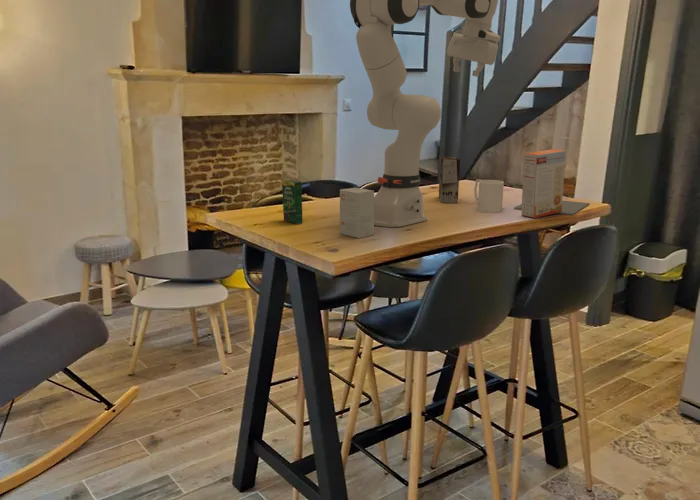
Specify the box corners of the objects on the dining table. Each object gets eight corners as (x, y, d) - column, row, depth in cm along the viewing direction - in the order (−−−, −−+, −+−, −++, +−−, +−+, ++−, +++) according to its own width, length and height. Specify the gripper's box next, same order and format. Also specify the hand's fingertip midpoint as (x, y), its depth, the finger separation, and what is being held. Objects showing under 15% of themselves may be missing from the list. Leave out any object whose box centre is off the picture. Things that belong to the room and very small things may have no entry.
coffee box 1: (282, 220, 197) (281, 179, 194) (290, 219, 199) (289, 178, 195) (295, 224, 191) (294, 182, 188) (303, 223, 192) (302, 181, 189)
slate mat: (572, 215, 206) (572, 214, 205) (513, 209, 216) (514, 207, 216) (589, 204, 225) (589, 203, 225) (534, 199, 236) (535, 197, 235)
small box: (374, 235, 178) (374, 190, 174) (358, 238, 174) (358, 192, 170) (355, 230, 184) (355, 187, 180) (339, 233, 179) (339, 189, 176)
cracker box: (547, 209, 212) (552, 148, 206) (562, 212, 207) (567, 150, 201) (519, 215, 205) (523, 152, 199) (533, 218, 200) (538, 154, 194)
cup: (482, 205, 223) (483, 177, 220) (506, 211, 213) (508, 182, 210) (465, 207, 218) (466, 179, 216) (489, 213, 209) (491, 184, 206)
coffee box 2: (458, 203, 227) (460, 159, 223) (441, 202, 227) (442, 159, 223) (454, 198, 236) (457, 156, 232) (438, 198, 236) (439, 156, 232)
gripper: (448, 27, 215) (438, 67, 220) (492, 34, 201) (480, 77, 205) (461, 30, 219) (450, 70, 224) (504, 38, 204) (492, 80, 209)
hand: (465, 73), depth 214 cm, fingers open, 8 cm apart
